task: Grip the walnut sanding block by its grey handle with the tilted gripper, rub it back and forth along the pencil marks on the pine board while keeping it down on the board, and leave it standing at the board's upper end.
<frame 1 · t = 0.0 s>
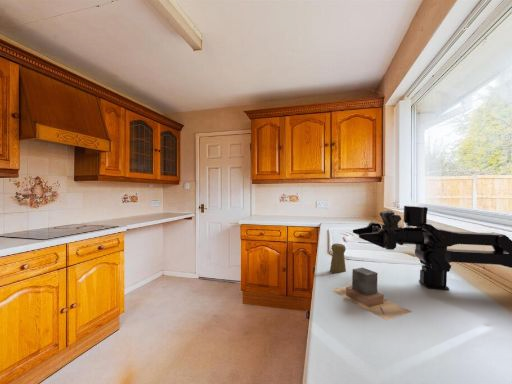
hand: (355, 233, 88), 17 cm above the countertop, tool horizontal, fingers open, 9 cm apart
pine board: (367, 303, 70), on the countertop
sanding block: (364, 300, 70), point 1 cm above the countertop, touching pine board
cork: (337, 272, 96), on the countertop
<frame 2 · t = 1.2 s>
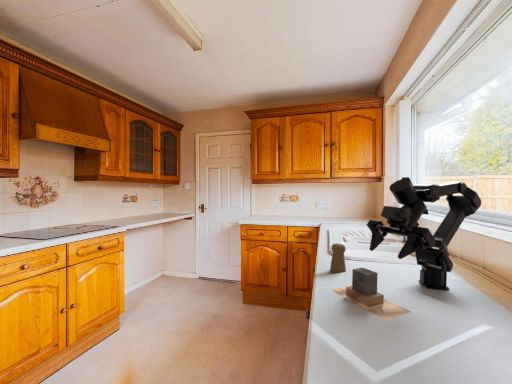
hand: (383, 253, 73), 13 cm above the countertop, tool tilted 45°, fingers open, 9 cm apart
nothing on the countertop moved.
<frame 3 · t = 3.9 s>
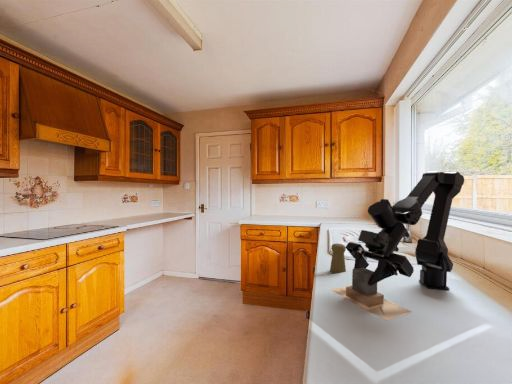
hand: (360, 281, 69), 7 cm above the countertop, tool tilted 45°, fingers closed on sanding block, 5 cm apart
sanding block: (364, 300, 70), point 1 cm above the countertop, touching gripper, pine board
everything else where it was.
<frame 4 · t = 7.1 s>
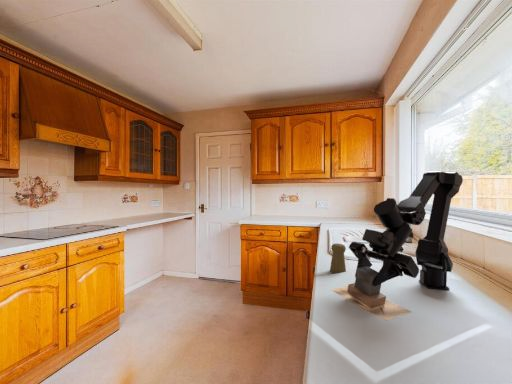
hand: (364, 281, 67), 7 cm above the countertop, tool tilted 45°, fingers closed on sanding block, 5 cm apart
sanding block: (365, 299, 69), point 2 cm above the countertop, tilted 9°, touching gripper, pine board
everything else where it was.
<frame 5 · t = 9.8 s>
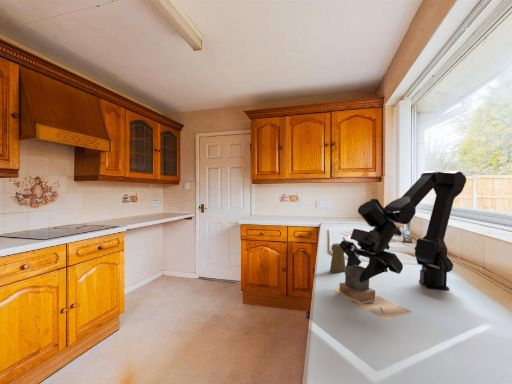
hand: (352, 278, 72), 7 cm above the countertop, tool tilted 45°, fingers closed on sanding block, 5 cm apart
sanding block: (356, 296, 72), point 1 cm above the countertop, touching gripper
everything else where it was.
when the fingers open (7 cm above the countertop, at t = 12.9 s): sanding block stays where it is, resting on pine board.
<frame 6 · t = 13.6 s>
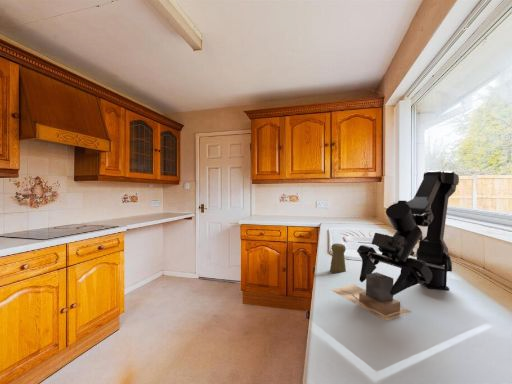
hand: (375, 287, 65), 7 cm above the countertop, tool tilted 45°, fingers open, 9 cm apart
sanding block: (378, 307, 66), point 1 cm above the countertop, touching pine board
everything else where it was.
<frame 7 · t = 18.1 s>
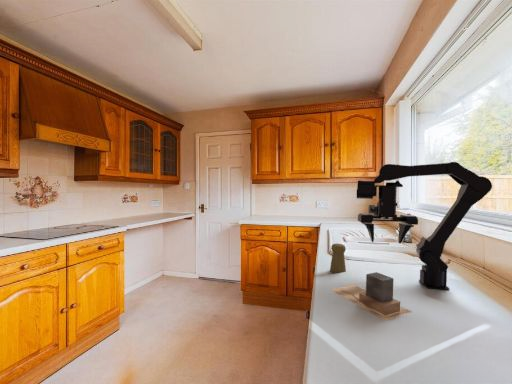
hand: (385, 242, 90), 13 cm above the countertop, tool pointing down, fingers open, 9 cm apart
nothing on the countertop moved.
at the end: sanding block 0.8 cm from the target spot, point 1.0 cm above the countertop; sanding block tilted 0°; the gripper is holding nothing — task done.
